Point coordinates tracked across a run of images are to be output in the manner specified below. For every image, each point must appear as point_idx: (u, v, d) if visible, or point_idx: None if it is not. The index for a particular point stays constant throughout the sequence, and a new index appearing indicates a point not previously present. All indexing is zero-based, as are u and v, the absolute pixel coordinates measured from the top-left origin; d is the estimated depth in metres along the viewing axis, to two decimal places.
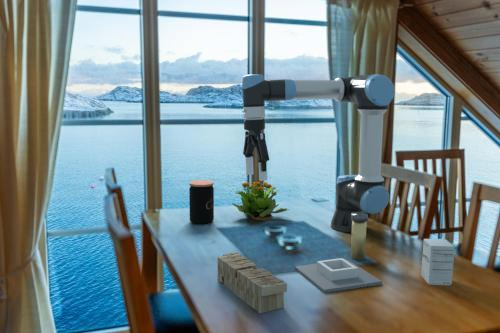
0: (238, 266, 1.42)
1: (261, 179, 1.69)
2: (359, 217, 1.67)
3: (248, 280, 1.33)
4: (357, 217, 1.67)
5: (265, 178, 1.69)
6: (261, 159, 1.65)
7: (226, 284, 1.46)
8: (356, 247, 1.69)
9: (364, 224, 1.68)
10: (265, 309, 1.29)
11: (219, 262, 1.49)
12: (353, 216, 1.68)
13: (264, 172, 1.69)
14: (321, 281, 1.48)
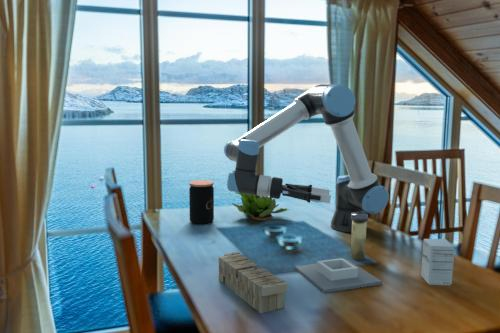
0: (239, 266, 1.42)
1: (328, 201, 1.64)
2: (359, 217, 1.67)
3: (249, 280, 1.33)
4: (357, 217, 1.67)
5: (328, 197, 1.64)
6: (306, 200, 1.63)
7: (227, 284, 1.46)
8: (356, 247, 1.69)
9: (364, 224, 1.68)
10: (266, 309, 1.29)
11: (220, 262, 1.49)
12: (353, 216, 1.68)
13: (322, 197, 1.64)
14: (321, 281, 1.48)
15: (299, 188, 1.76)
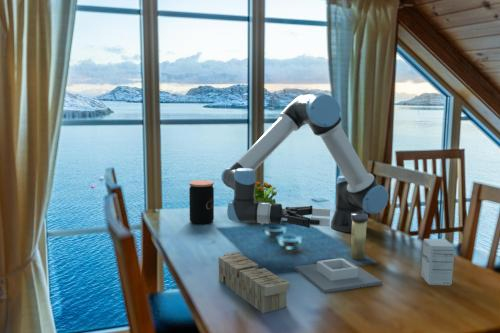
0: (240, 266, 1.42)
1: (328, 224, 1.64)
2: (359, 217, 1.67)
3: (251, 280, 1.33)
4: (357, 217, 1.67)
5: (327, 220, 1.64)
6: (306, 226, 1.64)
7: (228, 284, 1.46)
8: (356, 247, 1.69)
9: (364, 224, 1.68)
10: (268, 309, 1.30)
11: (220, 262, 1.49)
12: (353, 216, 1.68)
13: (321, 220, 1.65)
14: (321, 281, 1.48)
15: (299, 211, 1.77)
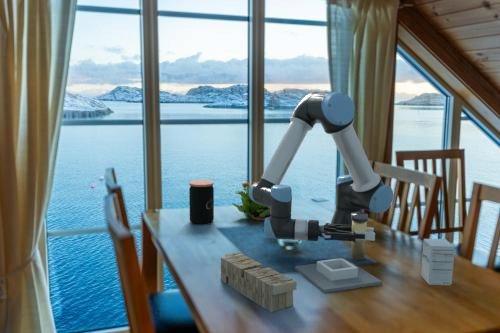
0: (244, 266, 1.42)
1: (373, 238, 1.67)
2: (359, 217, 1.67)
3: (257, 279, 1.34)
4: (357, 217, 1.67)
5: (373, 234, 1.67)
6: None
7: (231, 284, 1.45)
8: (356, 247, 1.69)
9: (364, 224, 1.68)
10: (276, 308, 1.30)
11: (223, 262, 1.49)
12: (353, 216, 1.68)
13: (366, 235, 1.67)
14: (321, 281, 1.48)
15: (338, 229, 1.73)
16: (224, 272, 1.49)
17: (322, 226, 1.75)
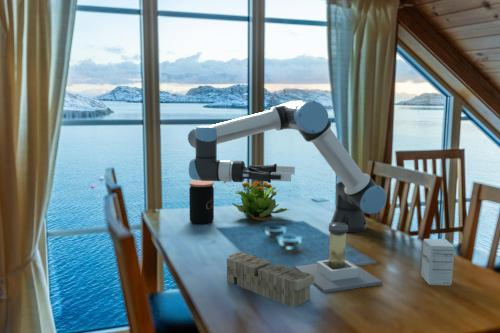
0: (255, 265, 1.43)
1: (289, 179, 1.61)
2: (337, 228, 1.49)
3: (275, 277, 1.36)
4: (335, 228, 1.49)
5: (289, 175, 1.60)
6: (266, 181, 1.60)
7: (241, 284, 1.46)
8: (335, 262, 1.51)
9: (343, 236, 1.50)
10: (297, 303, 1.33)
11: (229, 263, 1.48)
12: (331, 227, 1.50)
13: (282, 175, 1.61)
14: (321, 281, 1.48)
15: (263, 169, 1.73)
16: (231, 273, 1.48)
17: None
